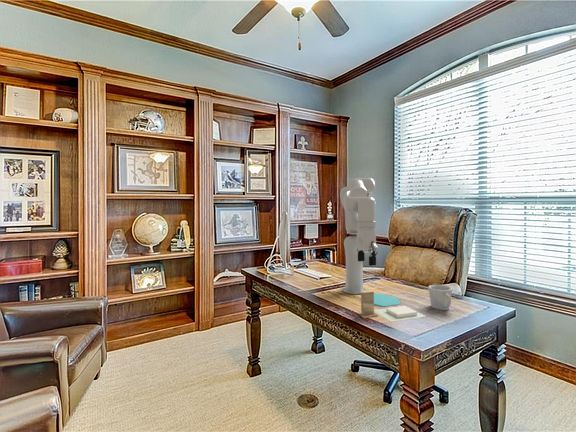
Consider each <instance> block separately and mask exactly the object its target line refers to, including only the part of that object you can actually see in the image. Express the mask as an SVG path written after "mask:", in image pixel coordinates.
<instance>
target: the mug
mask: <svg viewBox="0 0 576 432" xmlns="http://www.w3.org/2000/svg"><path fill="white" fill-rule="evenodd" d="M452 292H453V288H452V287H451V286H449V285H445V284H431V285H428V294H429V299H430V306H431V308H433V309H435V310H440V311H448V310H449V309H450V307H451V306H452V305H451V304H452V294H453V293H452Z"/></svg>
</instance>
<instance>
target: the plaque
mask: <svg viewBox="0 0 576 432" xmlns="http://www.w3.org/2000/svg"><path fill="white" fill-rule="evenodd" d="M398 305H401V302H400V300H399V298H398V297H397V296H394V295H388V294H384V293H379V292H377V293H374V306H378V307H383V308H388V307H394V306H398Z"/></svg>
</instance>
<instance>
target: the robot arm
mask: <svg viewBox="0 0 576 432" xmlns="http://www.w3.org/2000/svg"><path fill="white" fill-rule="evenodd" d="M375 190H376V183H375V180H374V179H373V178H372V177H354V178H351V179H349V180H348V182H347V184H346V186H345V187H342V188H341V189H340V192H339V198H340V202H341V205H342V207H343V209H344V221H345V222H344V223H345V224H344V225H345V230H346V232H347V234H350V235H349V236H346V237H345V238H344V240H343V247H344V255H345V282H344V284H345V287H343V289H342V290H343V292H344V293H346V294H349V295H361V292H363V291H367V289H366V288H365V287H364V262H365V258H366V257H365V254H366V253H368V254H369V256H368V266H376V265H377V255H378V251H379V246H378V245H377V236H376V235H377V233H376V207H377V205H376V199H375V198H374V197H373V196H374V193H375Z"/></svg>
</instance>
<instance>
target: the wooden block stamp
mask: <svg viewBox="0 0 576 432" xmlns="http://www.w3.org/2000/svg"><path fill="white" fill-rule="evenodd" d="M374 294H375V292H374V291H373V290H366V291H363V292H361V294H360V304H361V306H360V308H361V309H360V310H361V311H358V312H357V315H358V316H360V317H361V318H363V319H368V318H375V317H379V314H377V313H376V312H374V310H375V305H374Z"/></svg>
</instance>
